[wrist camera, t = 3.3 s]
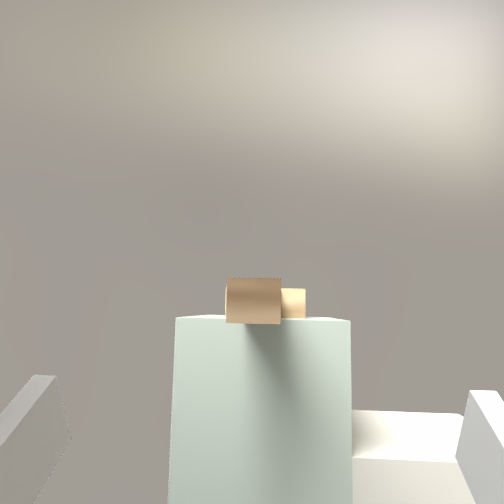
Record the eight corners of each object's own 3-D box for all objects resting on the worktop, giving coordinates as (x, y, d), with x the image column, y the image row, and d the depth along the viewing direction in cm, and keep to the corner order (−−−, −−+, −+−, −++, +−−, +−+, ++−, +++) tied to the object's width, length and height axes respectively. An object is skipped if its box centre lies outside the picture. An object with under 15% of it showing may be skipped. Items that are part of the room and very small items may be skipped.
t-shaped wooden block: (322, 325, 18) (321, 274, 18) (185, 322, 18) (187, 272, 19) (301, 316, 37) (301, 292, 37) (234, 315, 37) (234, 291, 37)
